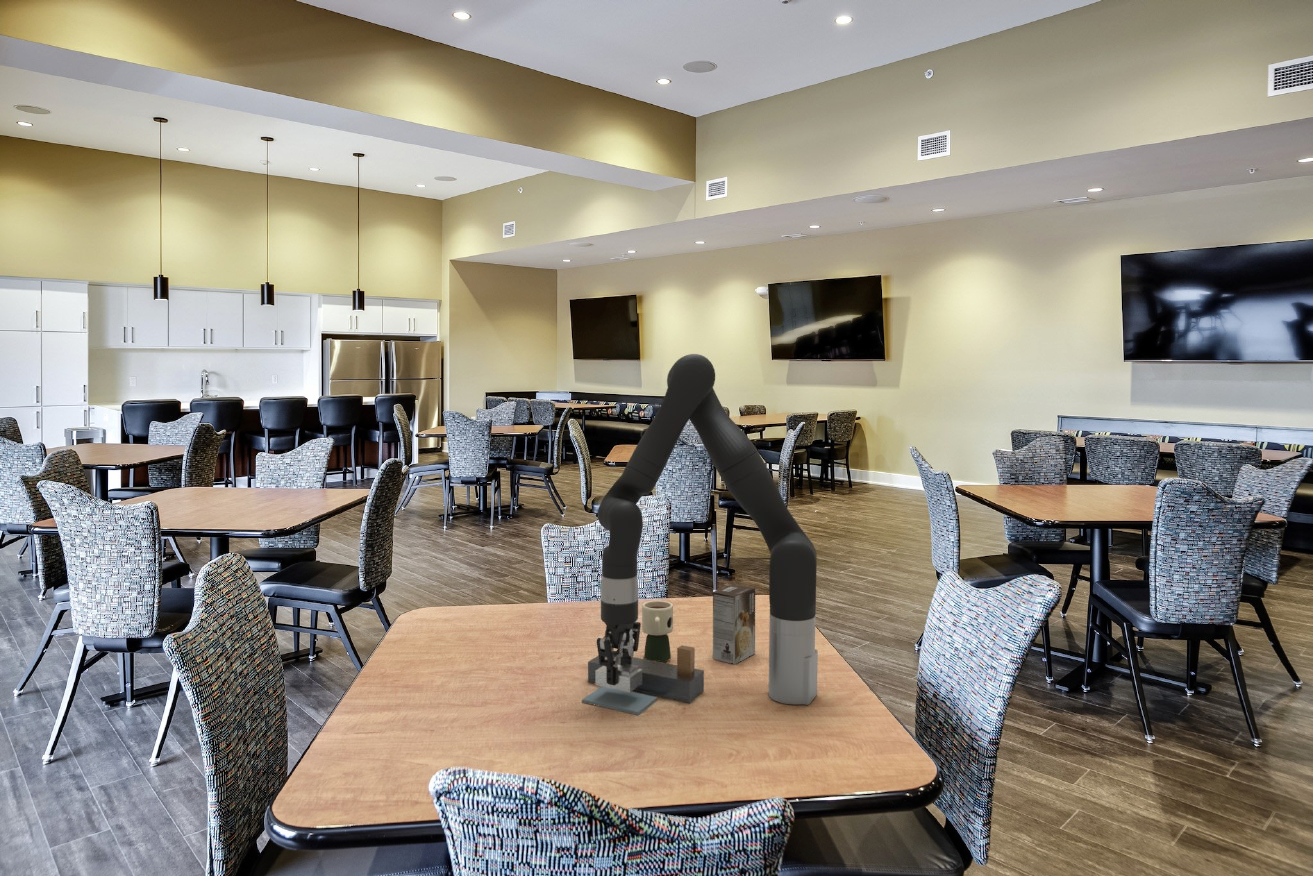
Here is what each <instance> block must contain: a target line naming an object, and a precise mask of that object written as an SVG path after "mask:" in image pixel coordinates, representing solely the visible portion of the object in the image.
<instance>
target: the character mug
mask: <svg viewBox="0 0 1313 876" xmlns="http://www.w3.org/2000/svg"><path fill="white" fill-rule="evenodd" d="M641 611H642V612H641V630H642V632H643V633H644V634H646V636H645V637H646V638H645V643H644V652H643V654H644V656H643V659H646V660H651V661H657V662H666V661H669V660H670V659H672V658H671V656H672V655H671V646H670V638H669V635H668V634H670V633H672V632H673V631H674V630H673V629H674V604H673V603H672V602H669V601H664V600H650V601H646V602H645V601H644V602H643V604H641Z"/></svg>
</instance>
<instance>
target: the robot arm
mask: <svg viewBox="0 0 1313 876" xmlns="http://www.w3.org/2000/svg"><path fill="white" fill-rule="evenodd" d="M666 378H667V379H666V385H667V389H666V392H665V395H664V397H663V400H662V402H661V404H660V407H659V408H658V411H656V413H655V416H654V417H653V419H652V421H651V423H650V424H649V426H648V427H647V429H646V431H645V432H644V434H643V435H642V436H641V438H640V440H639V441H638V443H637V445H636V447H635V449H634V450H633V452H632V454H631V455H630V458H629V459H628V461H627V463H626V465H625V468H624V470H623V471H622V474H621V475H620V476H619V477H618V479H617V480H616V481H615V482H614V483H613V485H612V486H611V487H610V488H609V489H608V491H607V492H606V494H605V495H604V496H603V498H602V499H601V502H600V504H599V507H598V510H597V519H598V522H599V524H600V525H601V527H602V528H603V529H605V530H606V531H609V538H608V539H609V541H608V545H607V546H606V547H604V549H603V550H602V551H603V552H602V554H601V555H602V556H601V584H600V620H601V621H602V622H603V623H604V624H605V632H604V636H603V637H597V640H596V647H597V654H598V655H597V656H599V663H600V665H602V666H606V680H607V684H610V685H616V684H617V683H618V667H617V666H618V660H619V656H621V655H622V657H621V665H622V666H623V665H624V664H631V665H632V657H634V655H635V654H634V653H635V652H636V653H637V652H638V650H639V644H640V643H639V642H640V634H641V628H642V622H640V621H639V622H638V619H639V581H638V551H639V548H640V543H641V539H642V535H643V527H644V520H643V518H644V517H643V514H642V511H641V508H640V507H639V506H638V505H637V503H639V501H640V499H641V498H642V497H643V496H645V495H648V494H650V493H652V491H653V490H654V488H655V487H656V486H657V483H658V481H659V479H660V477H661V476H662V473H663V471H664V469H665V467H666V465H667V463H668V462H669V459H670V457H671V455H672V453H673V452H674V451H673V450H674V448H675V446H676V445H677V443H678V441H679V438H680V436H681V434H682V432H683V430H684V429H685V427H686V424H688V422H689V421H690V423H691V424H692V425H693V428H695V430H696V432H697V435H698V436H699V438H700V440H701V443H702V444H703V447H704V448H705V451H706V452H707V454H708V456H709V458H710V461H711V462H712V464H713V466H714V467H715V469H716V471H717V473H718V475H719V476H720V478H721V480H722V482H723V483H724V485H725V486H726V488H727V490H728V492H729V493H730V494H731V496H732V497H733V499H734V500H735V501H736V502H737V504H738V505H739V506H740V507H741V509H743V511H745V512H746V513H747V515H748V516H749V517H750V518H751V519H752V521H753V522H754V523H755V525H756V527H757V528H758V530H759V532H760V533H761V536H762V538H763V540H764V542H765V544H766V546H767V548H768V551H769V553H770V556H769V569H768V570H769V576H768V578H769V582H768V583H769V584H768V586H769V587H768V588H769V593H768V594H769V595H768V597H769V598H768V599H769V601H768V602H769V633H768V634H769V636H768V637H769V638H768V640H769V641H768V642H769V645H768V696H769V698H770V699H771V700H774V701H775V702H778V703H779V704H785V705H807V706H809V705H810V704H811V703H812V702H813V700H814V698H816V697H817V695H818V661H819V660H818V659H819V652H818V649H816V612H817V611H816V609H817V565H818V564H817V562H818V561H817V557H818V556H817V551H816V548H815V546H814V543H813V542H812V541H811V539H810V538H809V537H808V535H807V534H806V533H805V532H804V530H803V529H802V528H801V526H800V525H799V524H798V522H797V520H796V519H795V518H794V516H793V515H792V514H791V512H790V511H789V508H788V507H787V506H786V504H785V500H784V499H783V497H782V494H781V492H780V490H779V488H778V486H777V483H776V482H775V480H774V478H773V476H772V474H771V473H770V471H769V469H768V466H767V464H766V463H765V461H764V460H763V458H762V456H761V454H760V453H759V451H758V449H757V448H756V446H755V445H754V443H753V442H752V441H751V439H750V438H749V436H747V434H746V433H744V431H743V430H742V429H741V428H740V427H739V426H738V425H737V424H736V423H735V422H734V421H733V419H732V418H731V417H730V416H729V414H728V413H727V412H726V410H725V409H724V407H723V405H722V404H721V401H720V400H719V397H718V396H717V394H716V391H715V389H714V386H715V382H716V371H715V367H714V365H713V363H712V361H710V360H709V359H708V357H706V356H704V355H702V354H698V353H690V354H686V355H684V356H681V357H680V358H678V359H677V360H676V361H675V362H674V364H673V365H672V366H671V368H670V370H669V371H668V373H667V377H666ZM611 648H614V649H616V650H611ZM612 654H613V655H614V661H613V657H612ZM604 657H605V659H604Z"/></svg>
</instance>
